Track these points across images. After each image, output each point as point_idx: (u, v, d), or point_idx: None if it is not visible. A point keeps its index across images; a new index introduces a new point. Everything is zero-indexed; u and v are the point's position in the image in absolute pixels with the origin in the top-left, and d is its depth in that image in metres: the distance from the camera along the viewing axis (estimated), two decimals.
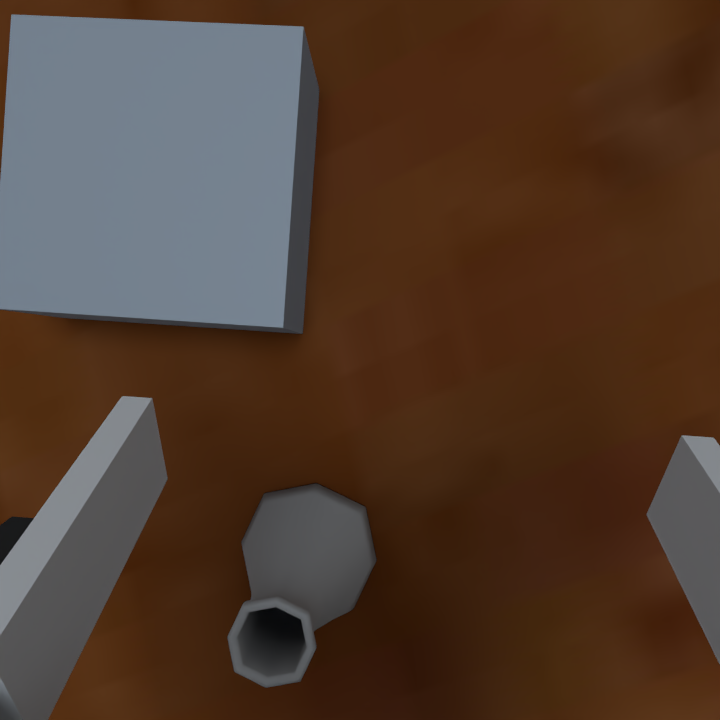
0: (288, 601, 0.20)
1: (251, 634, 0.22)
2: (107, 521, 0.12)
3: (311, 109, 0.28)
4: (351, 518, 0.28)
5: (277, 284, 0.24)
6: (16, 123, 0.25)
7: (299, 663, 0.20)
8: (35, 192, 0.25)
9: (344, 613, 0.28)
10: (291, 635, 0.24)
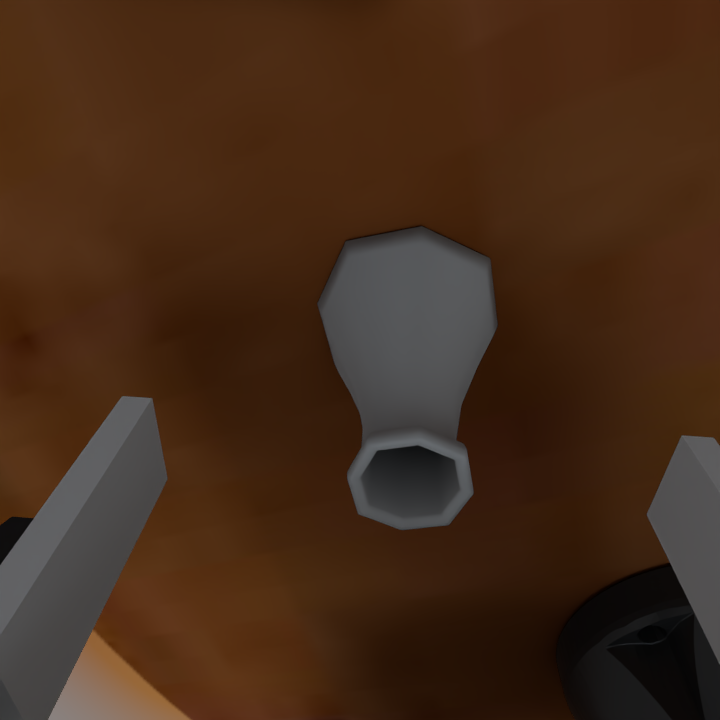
0: (435, 436, 0.14)
1: None
2: (107, 521, 0.12)
3: None
4: (475, 278, 0.20)
5: None
6: None
7: (448, 506, 0.14)
8: None
9: None
10: None
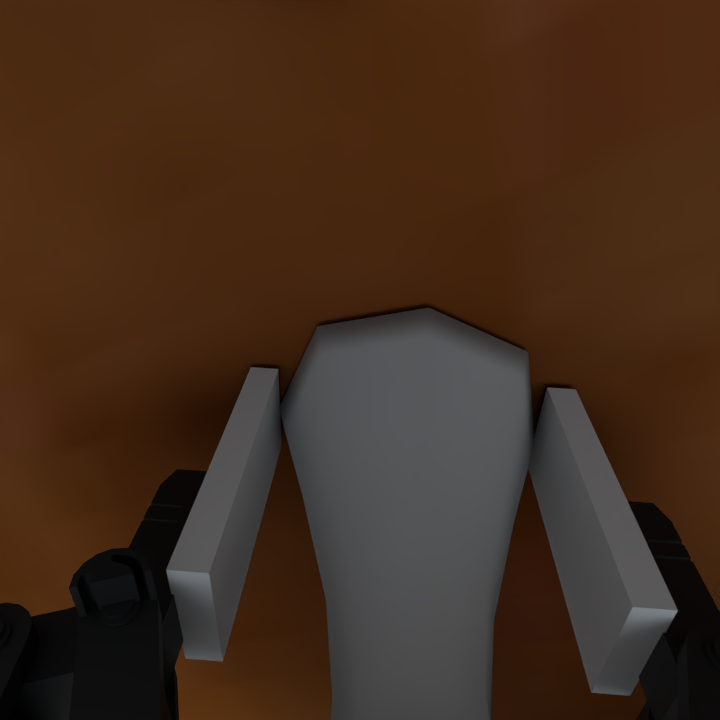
0: None
1: None
2: (257, 475, 0.13)
3: None
4: (508, 389, 0.13)
5: None
6: None
7: None
8: None
9: None
10: None
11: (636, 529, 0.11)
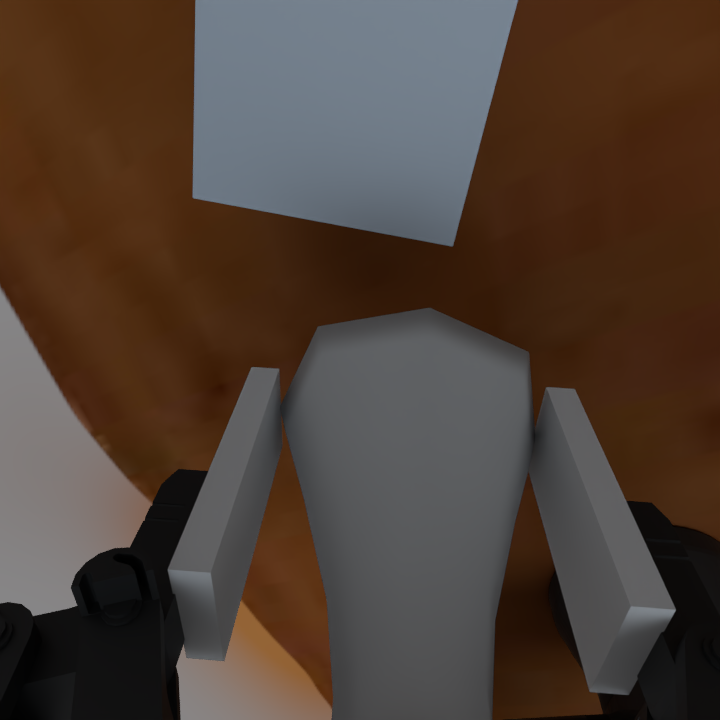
0: None
1: None
2: (258, 475, 0.13)
3: None
4: (509, 390, 0.13)
5: (454, 208, 0.27)
6: (208, 4, 0.23)
7: None
8: (231, 87, 0.25)
9: None
10: None
11: (635, 528, 0.11)
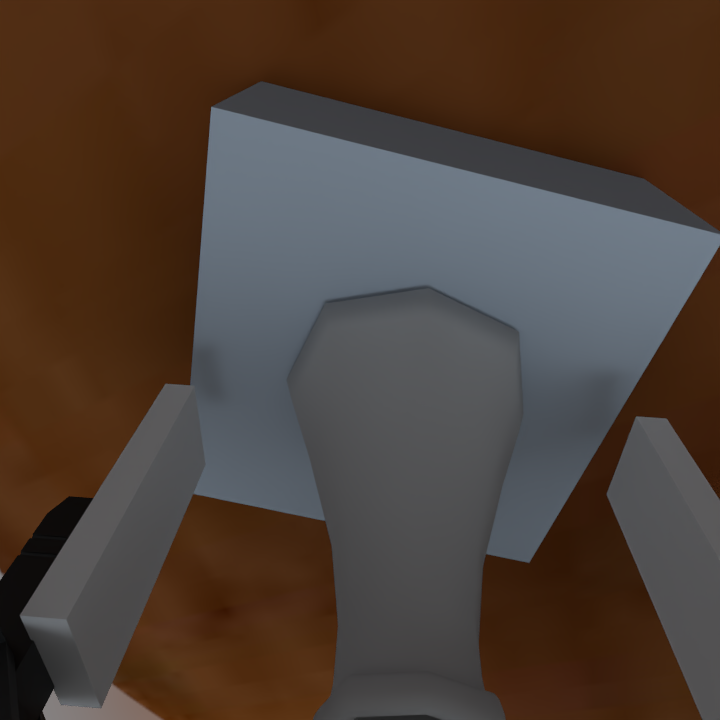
0: (455, 696, 0.08)
1: None
2: (158, 501, 0.12)
3: None
4: (500, 365, 0.15)
5: (538, 527, 0.20)
6: (216, 292, 0.16)
7: None
8: (243, 384, 0.17)
9: None
10: None
11: None
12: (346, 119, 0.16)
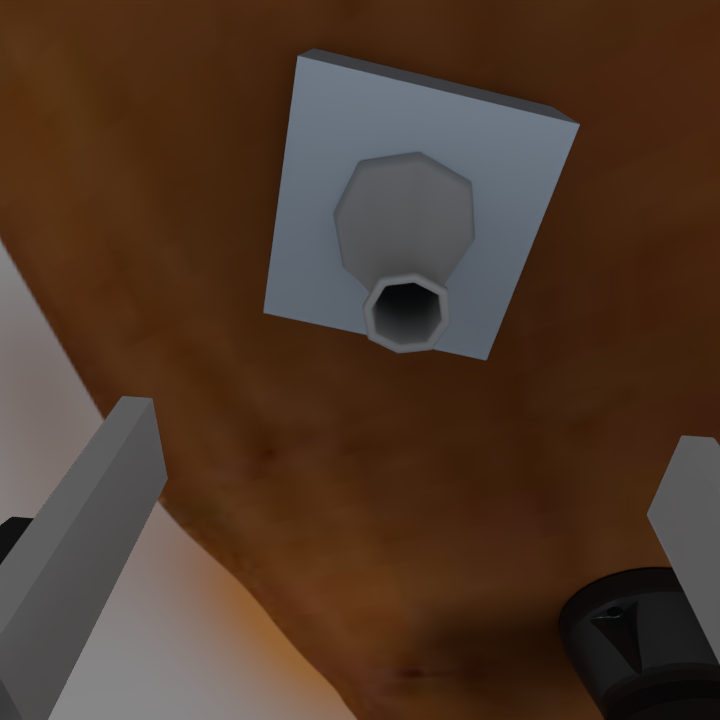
0: (426, 277, 0.19)
1: (376, 305, 0.22)
2: (107, 521, 0.12)
3: None
4: (459, 193, 0.26)
5: (490, 331, 0.31)
6: (293, 168, 0.27)
7: (432, 334, 0.20)
8: (306, 230, 0.29)
9: None
10: (406, 307, 0.24)
11: None
12: (368, 66, 0.27)
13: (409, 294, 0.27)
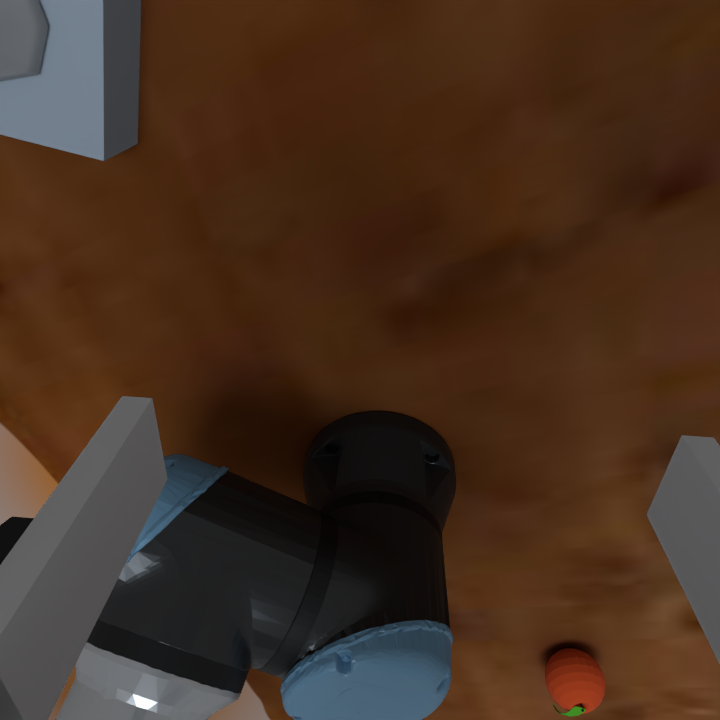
0: None
1: None
2: (107, 521, 0.12)
3: None
4: None
5: (98, 130, 0.36)
6: None
7: None
8: None
9: (15, 67, 0.32)
10: None
11: None
12: None
13: None
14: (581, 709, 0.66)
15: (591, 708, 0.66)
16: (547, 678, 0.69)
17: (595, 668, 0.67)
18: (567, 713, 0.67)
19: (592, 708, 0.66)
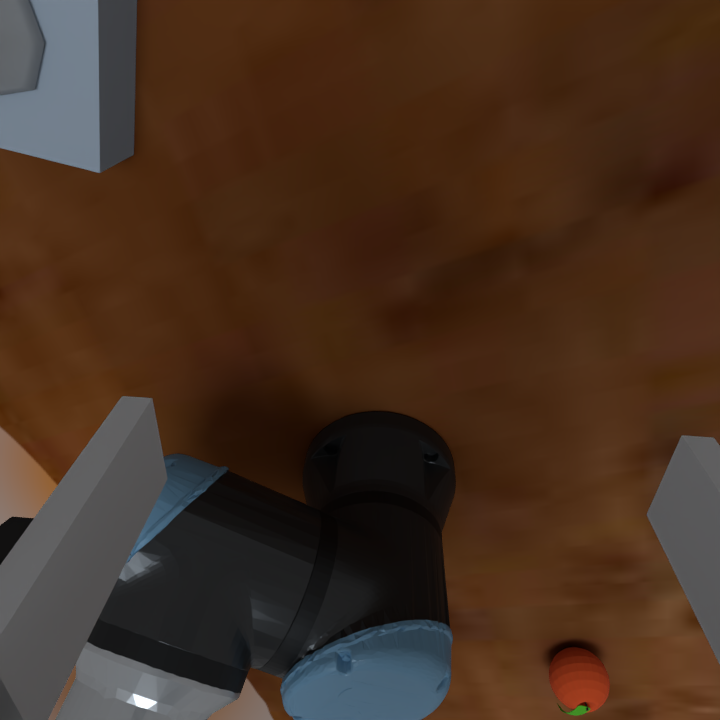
0: None
1: None
2: (107, 521, 0.12)
3: None
4: None
5: (93, 142, 0.36)
6: None
7: None
8: None
9: (11, 83, 0.33)
10: None
11: None
12: None
13: None
14: (585, 708, 0.66)
15: (596, 707, 0.66)
16: (551, 677, 0.68)
17: (599, 667, 0.67)
18: (572, 712, 0.67)
19: (597, 707, 0.66)
